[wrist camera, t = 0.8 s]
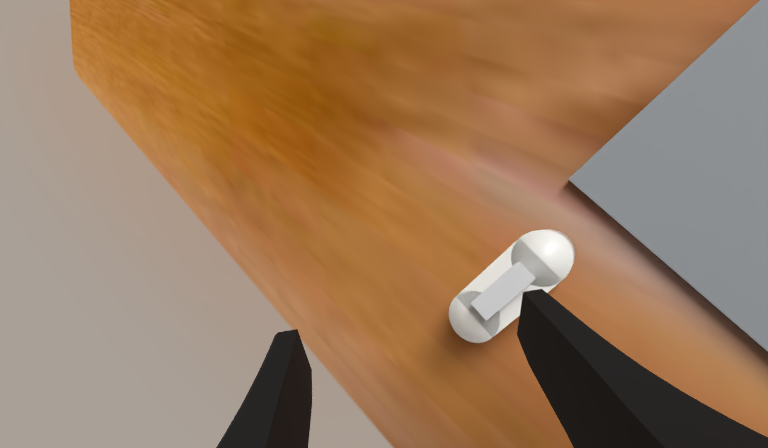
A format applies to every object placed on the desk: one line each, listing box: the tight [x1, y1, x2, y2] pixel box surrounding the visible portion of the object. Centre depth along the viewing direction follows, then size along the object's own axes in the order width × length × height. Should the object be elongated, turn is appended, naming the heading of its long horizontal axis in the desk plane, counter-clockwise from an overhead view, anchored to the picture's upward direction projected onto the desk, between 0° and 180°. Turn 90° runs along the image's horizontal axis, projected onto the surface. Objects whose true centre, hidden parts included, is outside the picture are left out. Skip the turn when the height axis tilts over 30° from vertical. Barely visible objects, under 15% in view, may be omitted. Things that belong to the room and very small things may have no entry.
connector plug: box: [449, 229, 576, 343], centre depth 22 cm, size 3×8×6 cm, turn 135°
